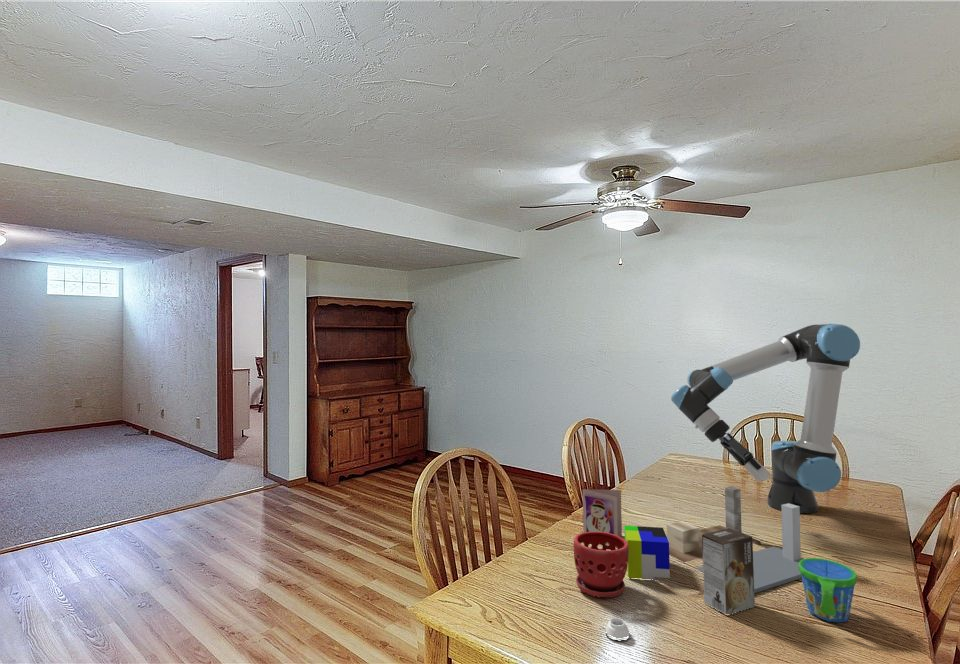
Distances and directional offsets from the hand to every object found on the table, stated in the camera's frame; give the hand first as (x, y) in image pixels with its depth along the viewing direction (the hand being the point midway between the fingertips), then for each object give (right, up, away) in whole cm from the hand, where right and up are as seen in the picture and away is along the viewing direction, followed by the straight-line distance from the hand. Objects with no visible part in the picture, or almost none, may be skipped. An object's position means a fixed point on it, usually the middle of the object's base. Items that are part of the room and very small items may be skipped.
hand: (765, 479), depth 155 cm
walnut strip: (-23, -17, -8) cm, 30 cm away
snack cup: (-12, -17, -45) cm, 49 cm away
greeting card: (-50, -18, -3) cm, 53 cm away
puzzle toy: (-44, -18, -23) cm, 53 cm away
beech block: (-30, -16, -11) cm, 36 cm away
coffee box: (-31, -17, -40) cm, 54 cm away
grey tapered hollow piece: (-60, -18, -51) cm, 80 cm away
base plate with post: (-15, -17, -25) cm, 34 cm away
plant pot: (-58, -18, -32) cm, 69 cm away
